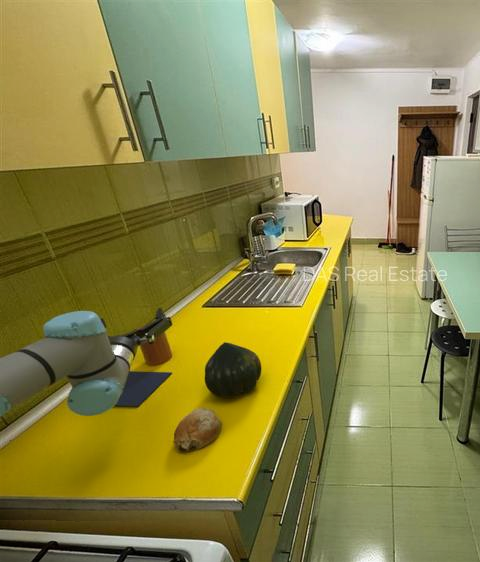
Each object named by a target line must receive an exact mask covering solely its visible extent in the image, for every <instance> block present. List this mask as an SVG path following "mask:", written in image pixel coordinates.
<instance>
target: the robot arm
mask: <svg viewBox="0 0 480 562" xmlns="http://www.w3.org/2000/svg"><path fill="white" fill-rule="evenodd" d="M154 319H155V320H153V321H151V322H149V323H147V324H145V325H146V326H145V325H143V326H144V327H142V326H141V327H142V328H140V327H139V328H140V329H138V328H135V329H133V330H131V331H129V332H127V333H124V334H119V335H114V336H110V335H108V334H107V329H106V328H107V327H108V326H107V324H106V321H105V319H104V318H103V317H102V318H100V317H99V315H98V314H97V313H95V312H94V311H91V310H77V311H71V312H66V313H63V314H60V315H57V316H54V317H53V318H51V319H50V320H49V321H47V322H45V323H44V324H43V326H42V330H43V336H44V337H43V338H42V339H39V340H37V341H35V342H32V343H31V344H28V345H26V346H24V347H23V348H19V349H18V350H15V351H13V352H12V353H9V354H7V355H5V356H3V357H0V418H1V417H4V416H6V415H7V413H9V412H10V411H11V410H13V409H14V408H16V407H17V406H20V405H21V404H22V403H24V402H26V401H28V400H29V399H30V398H32V397H34V396H35V395H37V394H39V393H40V392H42V391H43V390H45V389H47V388H49V387H51V386H52V385H54V384H56V383H57V382H60V381H61V380H63V379H64V378H67V379H68V382H69V384H70V386H71V389H70V391H69V392H68V396H67V400H66V405H67V407H68V409H69V410H70V411H71V412H73V413H74V414H76V415H78V416H82V417H83V416H84V417H93V416H98V415H102V414H104V413H106V412H108V411H110V410H112V409H113V408H114V406H115V404H116V403H117V401H118V399H119V397H120V396H121V394H122V392H123V389H124V386H125V383H126V380H127V377H128V374H129V371H131V369H132V365H133V363H134V361H135V358H136V356H137V353H138V349H139V348H138V347H140V346H139V345H141V343H145V342H148V344H153V343H154V342H155V340H156V339H157V338H158V337H159V336H160V335H162V334H163V333H164V332H165V333H166V331H167V330H169V329H170V328H171V327H172V326H173V325H174V324H173V321H172V317H171V316H166V313H164V312H163V308H162V307H158V308H157V311H156V314H155V317H154ZM135 334H136V335H135Z"/></svg>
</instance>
